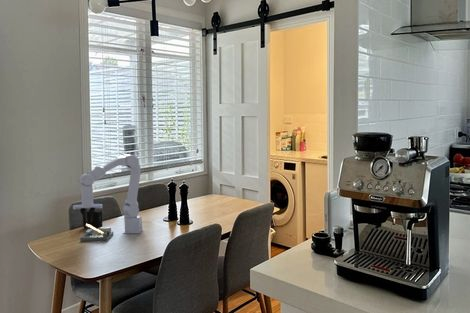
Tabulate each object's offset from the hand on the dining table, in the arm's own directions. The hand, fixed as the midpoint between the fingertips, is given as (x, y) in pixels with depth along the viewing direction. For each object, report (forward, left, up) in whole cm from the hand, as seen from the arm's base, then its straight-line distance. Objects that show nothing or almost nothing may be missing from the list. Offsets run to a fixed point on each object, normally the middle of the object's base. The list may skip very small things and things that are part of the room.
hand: (88, 222), depth 214 cm
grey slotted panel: (-3, -3, -10) cm, 11 cm away
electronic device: (+7, -24, -10) cm, 27 cm away
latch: (+2, -4, -8) cm, 9 cm away
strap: (-4, 0, -5) cm, 6 cm away
